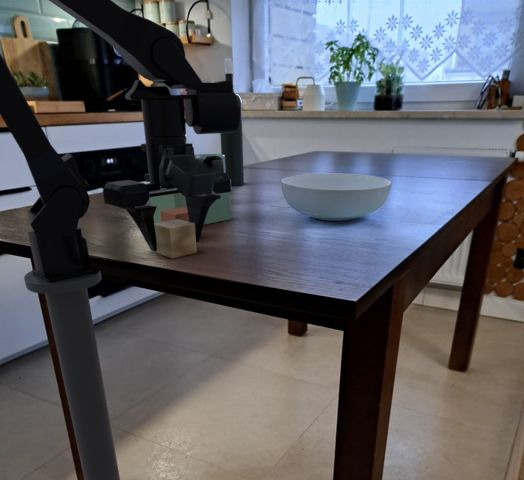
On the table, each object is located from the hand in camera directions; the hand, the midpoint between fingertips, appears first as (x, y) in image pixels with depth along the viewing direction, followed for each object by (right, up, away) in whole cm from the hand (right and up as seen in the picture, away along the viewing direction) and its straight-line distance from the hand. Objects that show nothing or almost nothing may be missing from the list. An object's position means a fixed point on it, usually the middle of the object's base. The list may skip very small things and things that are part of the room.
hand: (175, 246), depth 79 cm
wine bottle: (+5, +29, +62) cm, 69 cm away
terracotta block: (-1, +3, +9) cm, 10 cm away
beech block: (0, -1, 0) cm, 1 cm away
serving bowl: (+27, +10, +23) cm, 37 cm away
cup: (+1, +17, +38) cm, 42 cm away
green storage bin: (-2, +10, +22) cm, 24 cm away
